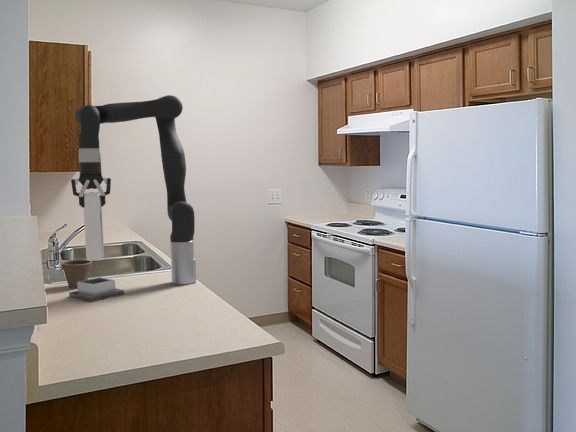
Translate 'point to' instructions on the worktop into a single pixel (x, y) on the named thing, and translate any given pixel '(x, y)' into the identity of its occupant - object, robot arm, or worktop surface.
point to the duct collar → (96, 289)
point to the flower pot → (76, 271)
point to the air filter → (93, 226)
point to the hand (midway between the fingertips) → (92, 206)
